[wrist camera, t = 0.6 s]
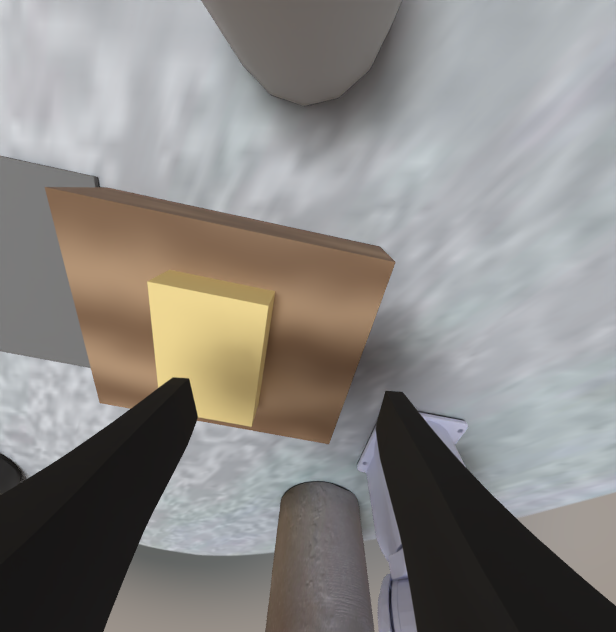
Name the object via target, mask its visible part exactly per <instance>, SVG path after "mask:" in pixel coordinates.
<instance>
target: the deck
mask: <svg viewBox="0 0 616 632" xmlns="http://www.w3.org/2000/svg"><path fill="white" fill-rule="evenodd" d="M45 191H46V195H47V199H48V203H49V206H50V210H51V214H52V218H53V222H54V226H55V230H56V234H57V238H58V242H59V246H60V249H61V253H62V257H63V261H64V265H65V269H66V273H67V277H68V281H69V285H70V288H71V292H72V296H73V300H74V304H75V308H76V312H77V316H78V320H79V324H80V328H81V331H82V335H83V339H84V343H85V347H86V351H87V355H88V359H89V363H90V367H91V370H92V374H93V378H94V382H95V386H96V390H97V394H98V398H99V402H100V403H103V404H108V405H114V406H119V407H125V408H132V407H134V406H135V405H136V404H138V403H139V402H140V401H142V400H143V399H144V398H146V397H147V396H148V395H150V394H151V393H152V392H154V391H155V390H156V389H158V381H157V371H156V362H155V352H154V342H153V333H152V323H151V313H150V304H149V294H148V284H147V281H149V280H151V279H153V278H155V277H157V276H159V275H160V274H162V273H164V272H166V271H168V270H173V271H178V272H183V273H188V274H193V275H198V276H203V277H208V278H212V279H217V280H222V281H227V282H232V283H237V284H242V285H247V286H252V287H256V288H261V289H266V290H271V291H275V297H274V303H273V310H272V317H271V323H270V330H269V337H268V344H267V350H266V357H265V364H264V371H263V377H262V384H261V391H260V398H259V404H258V407H257V411H256V414H255V417H254V421H253V424H252V427H250V426H244V425H239V424H233V423H228V422H222V421H217V420H211V419H205V418H200V417H198V418H197V421H203V422H208V423H214V424H219V425H225V426H231V427H236V428H242V429H247V430H253V431H258V432H264V433H270V434H275V435H281V436H286V437H292V438H297V439H303V440H308V441H314V442H320V443H325V444H329V443H330V440H331V437H332V434H333V432H334V429H335V426H336V423H337V421H338V418H339V415H340V412H341V410H342V407H343V404H344V402H345V399H346V396H347V393H348V391H349V388H350V385H351V382H352V380H353V377H354V374H355V371H356V369H357V366H358V363H359V361H360V358H361V355H362V352H363V350H364V347H365V344H366V341H367V339H368V336H369V333H370V330H371V328H372V325H373V322H374V320H375V317H376V314H377V311H378V309H379V306H380V303H381V300H382V298H383V295H384V292H385V289H386V287H387V284H388V281H389V279H390V276H391V273H392V270H393V268H394V265H395V261H394V260H393V259H392V258H391V257H390V256H389V255H388V254H387V253H386V252H385V251H384V250H383V249H382V248H381V247H379V246H375V245H370V244H365V243H361V242H356V241H351V240H347V239H342V238H338V237H333V236H328V235H324V234H319V233H314V232H310V231H305V230H301V229H296V228H291V227H287V226H282V225H278V224H273V223H268V222H264V221H259V220H254V219H250V218H245V217H241V216H236V215H231V214H227V213H222V212H218V211H213V210H208V209H204V208H199V207H194V206H190V205H185V204H181V203H176V202H171V201H167V200H162V199H157V198H153V197H148V196H144V195H139V194H134V193H130V192H125V191H121V190H116V189H111V188H104V187H45Z"/></svg>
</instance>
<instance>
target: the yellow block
mask: <svg viewBox="0 0 616 632" xmlns="http://www.w3.org/2000/svg"><path fill="white" fill-rule="evenodd" d="M147 284H148V294H149V304H150V313H151V323H152V333H153V342H154V352H155V362H156V371H157V381H158V388H159V387H160V386H162V385H163V384H164V383H166V382H167V381H168V380H170V379H171V378H172V377H177V378H189V380H190V384H191V388H192V393H193V397H194V401H195V406H196V410H197V414H198V417H200V418H205V419H211V420H217V421H222V422H228V423H233V424H239V425H244V426H250V427H252V424H253V421H254V417H255V414H256V411H257V407H258V404H259V398H260V391H261V384H262V377H263V371H264V364H265V357H266V350H267V344H268V337H269V330H270V323H271V317H272V310H273V303H274V297H275V291H271V290H266V289H261V288H256V287H252V286H247V285H242V284H237V283H232V282H227V281H222V280H217V279H212V278H208V277H203V276H198V275H193V274H188V273H183V272H178V271H173V270H168V271H166V272H164V273H162V274H160V275H159V276H157V277H155V278H153V279H151V280H149V281H147Z"/></svg>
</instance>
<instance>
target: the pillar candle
mask: <svg viewBox="0 0 616 632" xmlns="http://www.w3.org/2000/svg"><path fill="white" fill-rule="evenodd" d="M265 632H374V624H373V616H372V608H371V600H370V592H369V583H368V575H367V567H366V560H365V551H364V543H363V536H362V528H361V521H360V512H359V505H358V501H357V498H356V497H355V495H354V494H353V493H352V492H350V491H348V490H345V489H343V488H340V487H338V486H336V485H334V484H331V483H327V482H307V483H303V484H300V485H297V486H294V487H293V488H291V489H289V490H288V491H287V492H286V493H285V495H284V496H283V497H282V499H281V503H280V512H279V520H278V528H277V536H276V545H275V553H274V562H273V570H272V580H271V589H270V598H269V605H268V613H267V623H266V630H265Z"/></svg>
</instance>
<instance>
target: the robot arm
mask: <svg viewBox="0 0 616 632" xmlns="http://www.w3.org/2000/svg"><path fill="white" fill-rule="evenodd" d="M197 418H198V414H197V410H196V406H195V401H194V397H193V393H192V388H191V384H190V380H189V378H177V377H172V378H171V379H170V380H168V381H167V382H166V383H164V384H163V385H162V386H160V387H159V388H158V389H156V390H155V391H154V392H152V393H151V394H150V395H148V396H147V397H146V398H144V399H143V400H142V401H140V402H139V403H138V404H136V405H135V406H134V407H132V408H131V409H130V410H128V411H127V412H126V413H124V414H123V415H122V416H120V417H119V418H118V419H116V420H115V421H114V422H112V423H111V424H109V425H108V426H107V427H105V428H104V429H102V430H101V431H99V432H98V433H97V434H95V435H94V436H92V437H91V438H89V439H88V440H86V441H85V442H84V443H82V444H81V445H79V446H78V447H76V448H75V449H74V450H72V451H71V452H69V453H68V454H66V455H65V456H63V457H62V458H60V459H58V460H57V461H55V462H54V463H52V464H51V465H49V466H48V467H46V468H44V469H43V470H41V471H39V472H38V473H36V474H35V475H33V476H31V477H30V478H28V479H27V480H25V481H23V482H22V483H20V484H18V485H17V486H15V487H13V488H12V489H10V490H8V491H7V492H5V493H3V494H1V495H0V632H103V631H104V628H105V626H106V623H107V620H108V618H109V615H110V612H111V610H112V607H113V605H114V602H115V600H116V598H117V595H118V592H119V590H120V587H121V585H122V582H123V580H124V578H125V575H126V573H127V570H128V568H129V565H130V563H131V561H132V558H133V556H134V553H135V551H136V549H137V546H138V544H139V542H140V539H141V537H142V534H143V532H144V530H145V528H146V526H147V524H148V521H149V519H150V517H151V515H152V513H153V511H154V509H155V507H156V505H157V503H158V502H159V500H160V498H161V496H162V494H163V492H164V490H165V488H166V486H167V484H168V482H169V480H170V478H171V476H172V475H173V473H174V471H175V469H176V467H177V465H178V463H179V461H180V459H181V457H182V455H183V453H184V451H185V449H186V447H187V445H188V442H189V440H190V437H191V435H192V432H193V430H194V427H195V424H196V421H197ZM467 428H468V424H467V423H466V422H465V421H462V420H457V419H452V418H447V417H441V416H436V415H431V414H425V413H420V412H418V411H417V409H416V408H415V407H414V406H413V404H412V403H411V402H410V401H409V399H408V398H407V397H406V396H405V395H404V393H403V392H395V391H385V395H384V399H383V402H382V406H381V410H380V413H379V417H378V421H377V424H376V426H375V429H374V431H373V433H372V435H371V437H370V439H369V441H368V443H367V445H366V448H365V450H364V452H363V454H362V456H361V458H360V460H359V462H358V464H357V469H358V470H359V471H361V472H366V474H367V481H368V487H369V494H370V500H371V507H372V513H373V520H374V526H375V533H376V537H377V541H378V544H379V546H380V549H381V551H382V553H383V554H384V556H385V558H386V559H387V561H388V562H389V567H390V573H391V574H387V575H386V576H385V577H384V579H383V581H382V585H381V589H380V594H379V599H378V627H379V632H616V606H615V605H614V604H613V603H612V602H610V601H609V600H608V599H607V598H605V597H604V596H603V595H602V594H601V593H599V592H598V591H597V590H596V589H595V588H593V587H592V586H591V585H590V584H589V583H588V582H587V581H585V580H584V579H583V578H582V577H581V576H580V575H578V574H577V573H576V572H575V571H574V570H573V569H572V568H570V567H569V566H568V565H567V564H566V563H565V562H564V561H563V560H561V559H560V558H559V557H558V556H557V555H556V554H555V553H553V552H552V551H551V550H550V549H549V548H548V547H547V546H546V545H544V544H543V543H542V542H541V541H540V540H539V539H537V537H535V536H534V535H533V534H532V533H531V532H530V531H529V530H528V529H527V528H526V527H525V526H524V525H522V524H521V523H520V522H519V521H518V520H517V519H516V518H515V517H514V516H513V515H512V514H511V513H510V512H509V511H508V510H507V509H506V508H505V507H504V506H503V505H502V504H501V503H500V502H499V501H498V500H497V499H496V498H495V497H494V496H493V495H492V494H491V493H490V492H489V491H488V490H487V489H486V488H485V487H484V486H483V485H482V484H481V483H480V482H479V481H478V480H477V479H476V478H475V477H474V476H473V475H472V473H471V472H470V471H469V470H468V469H467V468H466V466H465V464H464V462H463V460H462V458H461V456H460V454H459V452H458V450H457V448H456V446H455V445H456V443H457V442H458V441H459V439H460V438H461V437H462V435H463V434H464V432H465V431H466V430H467Z"/></svg>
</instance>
